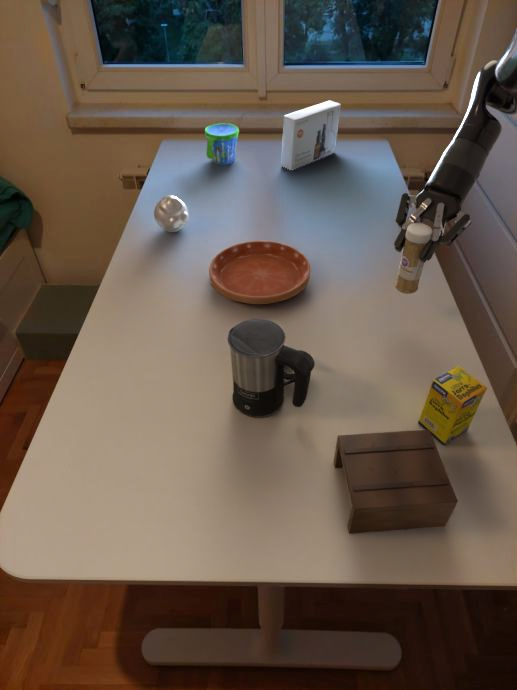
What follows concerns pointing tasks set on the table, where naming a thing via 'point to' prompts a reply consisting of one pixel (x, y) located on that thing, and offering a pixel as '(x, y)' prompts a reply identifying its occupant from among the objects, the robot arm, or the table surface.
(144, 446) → the table surface
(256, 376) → the milk frother
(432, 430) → the supplement box
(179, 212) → the shiny silver ball
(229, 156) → the snack cup
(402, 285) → the sprinkles bottle
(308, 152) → the skincare box
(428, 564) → the table surface
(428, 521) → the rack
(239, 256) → the saucer
